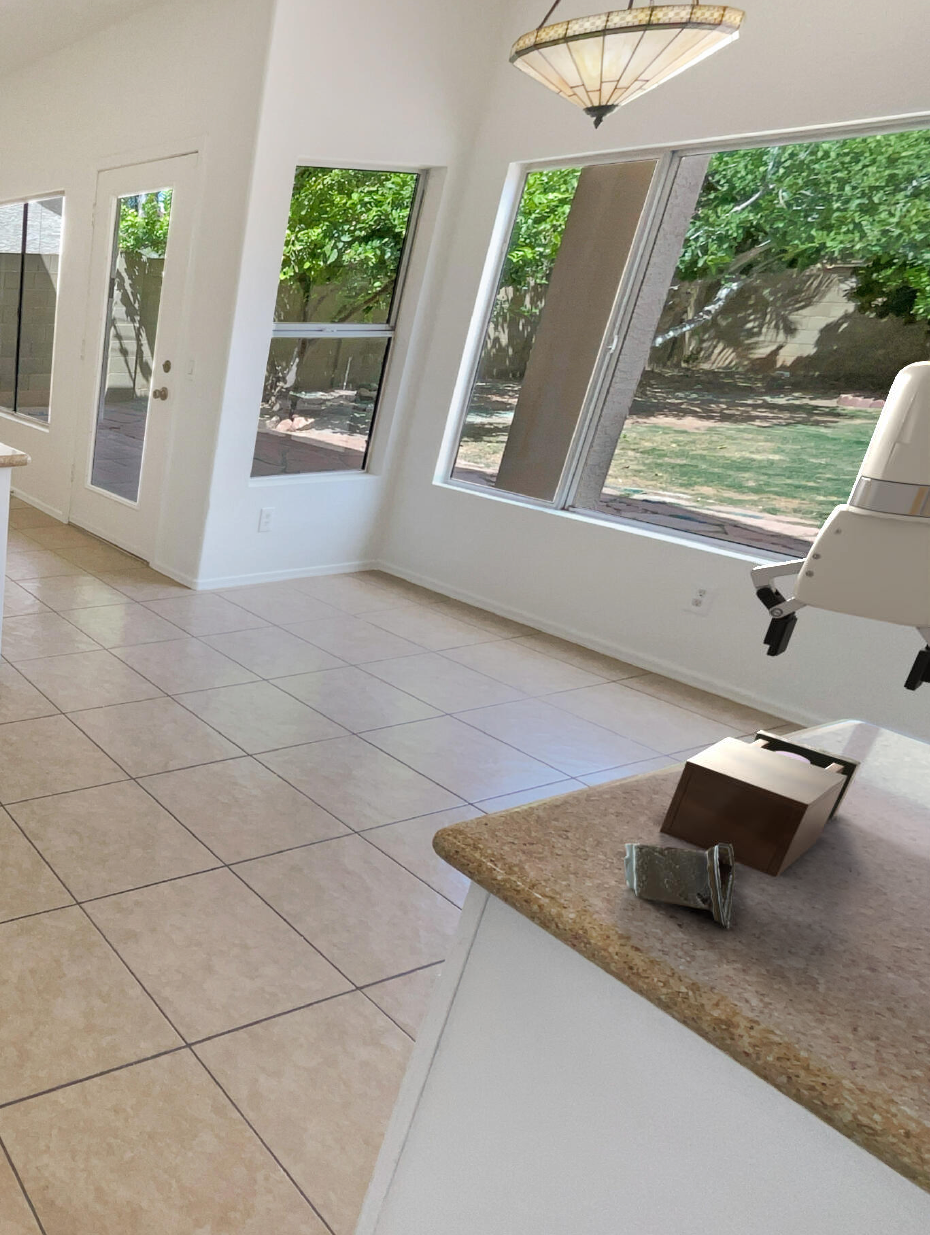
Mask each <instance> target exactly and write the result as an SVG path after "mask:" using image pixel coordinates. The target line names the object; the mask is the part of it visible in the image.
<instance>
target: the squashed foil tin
mask: <svg viewBox="0 0 930 1235" xmlns="http://www.w3.org/2000/svg"><path fill="white" fill-rule="evenodd" d="M624 848H625V851H626V856H625V857H624V858H623V860H624V879H625V880H626V885H627V887H628V888H629V889H630V890H633V891H634V892H635V895H636V897H637V898H638V899H643V900H647V901H653V902H663V903H666V904H669V905H671V904H672V905H677V906H682V907H683V906H684V907H689V908H694V909H703V910H708V911H710V912H711V913H712V915H713V918H714V919H713V920H714V921H716V922H717V923H719V924H721V925H723V926H725V928H726V929H728V930H729V929H730V928H729V927H730V925H731V922H730V921H729V920H730V919H731V908H732V906H733V903H732V901H734V900H733V891H734V885H735V882H736V878H735V877H736V875H735V861H734V858H733V852H734V851H733V849H732V848H733V847H732V846H731V844H729V845H728V844H724V843H719V844H718V845H717V846H715V847H711V848H710V849H708V850H697V849H690V848H689V849H688V848H681V847H673V846H660V845H656V844H649V843H625V845H624Z"/></svg>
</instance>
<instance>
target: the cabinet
mask: <svg viewBox="0 0 930 1235" xmlns="http://www.w3.org/2000/svg"><path fill="white" fill-rule="evenodd" d="M846 778H847V776H845V775H842V774H839V773H836V772H833V771H830V770H827V769H824V768H821V767H818V766H815V765H812V764H809V763H806V762H803V761H800V760H797V759H794V758H791V757H788V756H785V755H782V754H779V753H776V752H773V751H770V750H767V749H764V748H761V747H758V746H755V745H752V743H749V742H745V741H742V740H739V739H736V738H734V737H730V736H729V737H727V738H724V739H723V740H721V741H719V742H717V743H715V744H714V745H712V746H710V747H708V748H707V749H705V750H703V751H701V752H700V753H698V754H697V755H695V756H693V757H691V758H689V759H687V760H686V762H685V764H684V767H683V770H682V772H681V775H680V778H679V780H678V782H677V784H676V788H675V791H674V793H673V795H672V797H671V801H670V803H669V806H668V808H667V811H666V814H665V815H664V816H665V817H664V819H663V822H662V824H661V827H660V829H659V832H660V833H663V834H665V835H667V836H670V837H672V838H676V839H678V840H680V841H683V842H685V843H688V844H690V845H693V846H695V847H698V848H700V849H703V850H704V851H707V850H708V849H710V848H711V847H715V846H717V845H718V844H719V843H724V844H728V845H729V844H731V846H732V847H733V848H732V849H733V851H734V852H733V858H734V863H738V864H740V865H743V866H746V867H748V868H751V869H753V870H756V871H758V872H761V873H764V874H765V875H768V876H771V877H773V878H777V877H779V875H781V874H782V873H783V872H784V871H785V870H786V869H787V868H789V867H790V866H791V865H793V863H794V862H795V861H797V859H798V858H800V857H801V856H802V855H803V854H804V853H805V852H807V851H808V850H809V849H810V848H811V847H813V845H815V844H816V843H817V842H818V841H819V838H820V836H821V834H822V832H823V829H824V827H825V826H826V824H827V821H828V820H829V819H828V817H829V815H830V813H831V810H832V808H833V806H834V804H835V802H836V800H837V798H838V795H839V793H840V791H841V789H842V787H843V785H844V782H845V781H846Z"/></svg>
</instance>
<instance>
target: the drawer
mask: <svg viewBox="0 0 930 1235" xmlns="http://www.w3.org/2000/svg"><path fill="white" fill-rule="evenodd" d="M751 744H752V745H755V746H758V747H761V748H764V749H767V750H770V751H773V752H776V751H784V752H790V753H794V754H797V755H800V756H802V757H804V758H806V759H808V760H809V761H810V764H812V765H815V766H818V767H821V768H824V769H827V770H830V771H833V772H836V773H839V774H842V775H845V776H847V778H846V781H845V782H844V785H843V787H842V789H841V791H840V793H839V795H838V798H837V800H836V802H835V804H834V806H833V808H832V810H831V813H830V815H829V817H828V819H827V820H834V818H836V816H837V815H838V812H839V810H840V808H841V806H842V804H843V802H844V800H845V797H846V796H847V794H848V791H849V789H850V787H851V784H852V783H853V780H854V778H855V776H856V774H857V772H858V770H859V767H860V765H861V764H862V762H861V761H859V760H856V759H853V758H850V757H847V756H844V755H840V754H837V753H835V752H831V751H828V750H825V749H821V748H820V747H819V748H818V747H816V746H812V745H809V744H806V743H802V742H799V741H797V740H795V739H790V738H787V737H784V736H781V735H778V734H775V733H771V732H768V731H765V730H760V731H758V732H757V733H756V734H755V737H754V740H753V742H752V743H751Z"/></svg>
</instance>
